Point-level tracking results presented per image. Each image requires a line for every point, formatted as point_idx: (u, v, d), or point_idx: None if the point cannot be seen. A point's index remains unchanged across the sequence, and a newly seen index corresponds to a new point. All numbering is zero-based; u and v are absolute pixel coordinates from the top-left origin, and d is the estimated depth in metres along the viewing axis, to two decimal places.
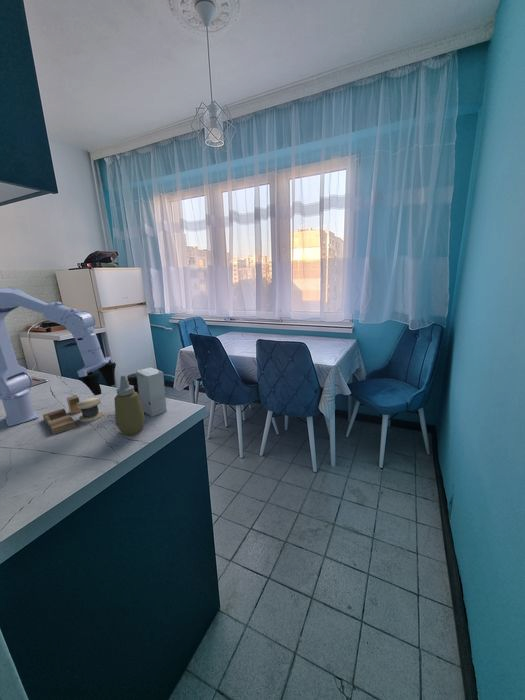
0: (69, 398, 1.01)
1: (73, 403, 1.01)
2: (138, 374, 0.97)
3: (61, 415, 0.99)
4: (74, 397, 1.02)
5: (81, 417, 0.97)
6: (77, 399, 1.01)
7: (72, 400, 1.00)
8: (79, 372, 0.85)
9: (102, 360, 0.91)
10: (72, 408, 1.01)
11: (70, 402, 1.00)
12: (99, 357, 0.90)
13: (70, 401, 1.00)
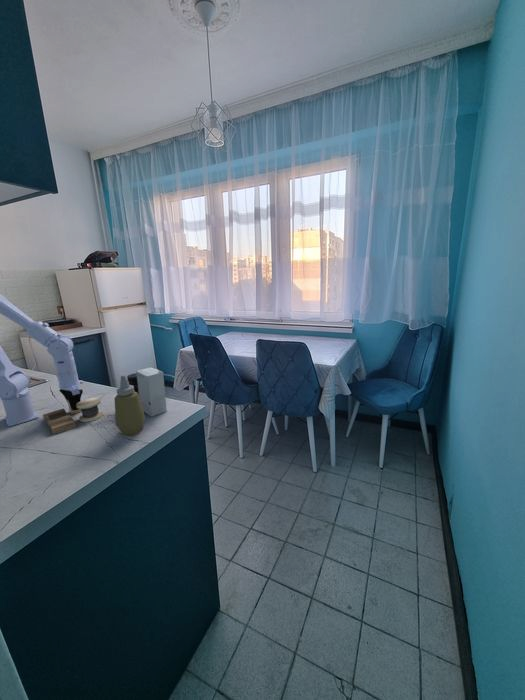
0: None
1: None
2: (138, 374, 0.97)
3: (61, 415, 0.99)
4: None
5: (81, 417, 0.97)
6: None
7: None
8: (74, 390, 0.95)
9: (78, 380, 1.02)
10: None
11: None
12: None
13: None
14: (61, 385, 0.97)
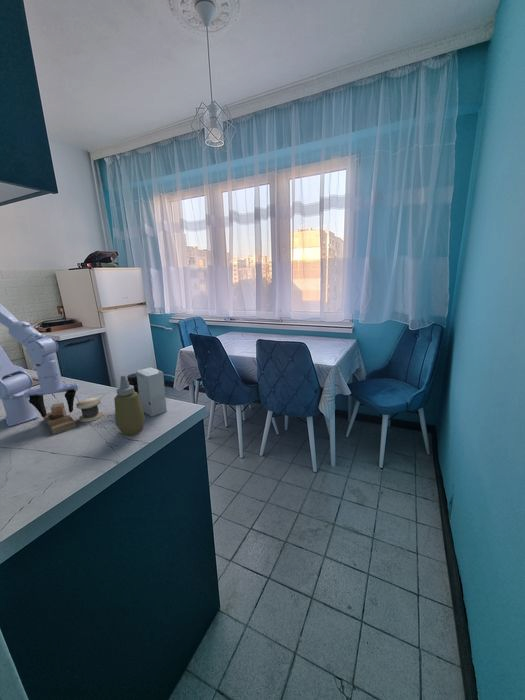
0: (56, 406, 0.95)
1: (63, 409, 0.96)
2: (138, 374, 0.97)
3: None
4: (58, 404, 0.96)
5: (81, 417, 0.97)
6: (63, 404, 0.97)
7: (62, 406, 0.96)
8: (77, 385, 0.96)
9: None
10: (63, 414, 0.96)
11: (62, 408, 0.96)
12: None
13: (62, 407, 0.96)
14: (53, 388, 0.92)
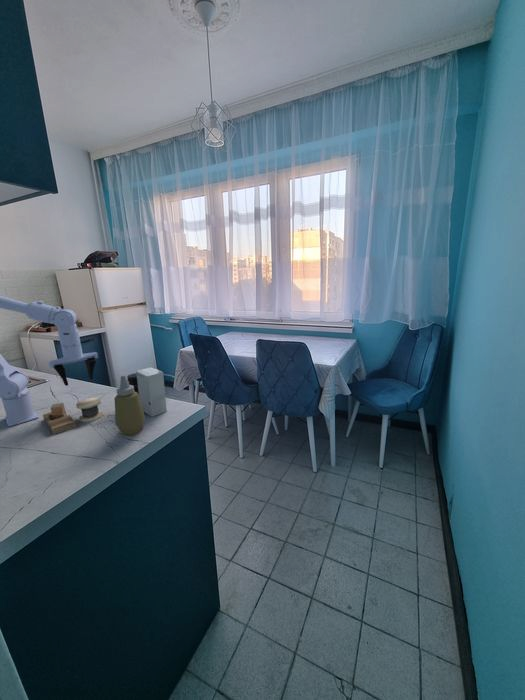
0: (56, 406, 0.95)
1: (63, 409, 0.96)
2: (138, 374, 0.97)
3: None
4: (58, 404, 0.96)
5: (81, 417, 0.97)
6: (63, 404, 0.97)
7: (62, 406, 0.96)
8: None
9: None
10: (63, 414, 0.96)
11: (62, 408, 0.96)
12: None
13: (62, 407, 0.96)
14: (79, 355, 0.99)
